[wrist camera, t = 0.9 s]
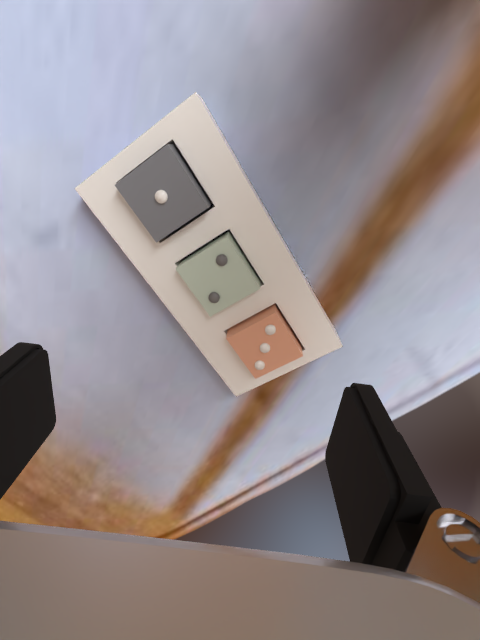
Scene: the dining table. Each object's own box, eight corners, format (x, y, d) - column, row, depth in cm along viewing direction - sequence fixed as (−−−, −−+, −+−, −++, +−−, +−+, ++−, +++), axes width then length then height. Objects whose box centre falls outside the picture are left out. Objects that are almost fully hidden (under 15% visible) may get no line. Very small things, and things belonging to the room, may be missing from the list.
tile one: (175, 144, 31) (166, 144, 28) (212, 203, 33) (207, 208, 31) (125, 182, 33) (113, 185, 30) (163, 236, 35) (155, 243, 32)
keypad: (201, 97, 31) (195, 91, 28) (337, 333, 41) (342, 346, 38) (89, 185, 35) (74, 188, 32) (237, 381, 45) (235, 396, 42)
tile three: (274, 302, 37) (275, 313, 35) (300, 343, 39) (303, 357, 37) (228, 326, 39) (225, 339, 36) (255, 365, 41) (255, 380, 38)
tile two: (229, 230, 34) (226, 237, 32) (260, 279, 36) (260, 289, 34) (181, 261, 36) (174, 269, 33) (213, 306, 38) (209, 317, 35)
